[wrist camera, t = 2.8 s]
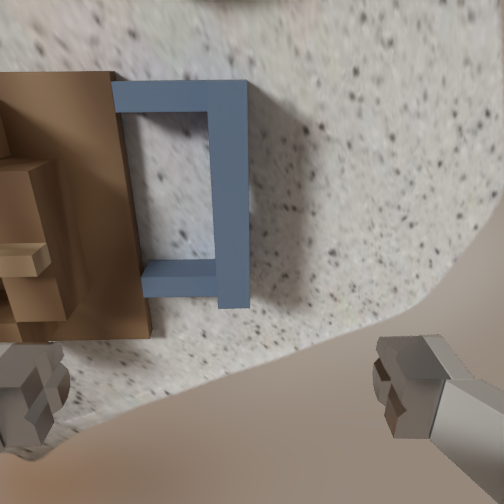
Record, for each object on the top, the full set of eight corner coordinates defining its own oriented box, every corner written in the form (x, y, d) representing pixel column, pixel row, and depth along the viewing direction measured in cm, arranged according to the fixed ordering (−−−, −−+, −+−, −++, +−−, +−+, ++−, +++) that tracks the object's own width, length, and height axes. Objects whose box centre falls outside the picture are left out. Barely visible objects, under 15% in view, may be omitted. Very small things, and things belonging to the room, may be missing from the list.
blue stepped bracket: (152, 279, 27) (138, 310, 24) (124, 80, 22) (100, 82, 18) (249, 277, 27) (250, 308, 24) (246, 79, 22) (247, 80, 18)
